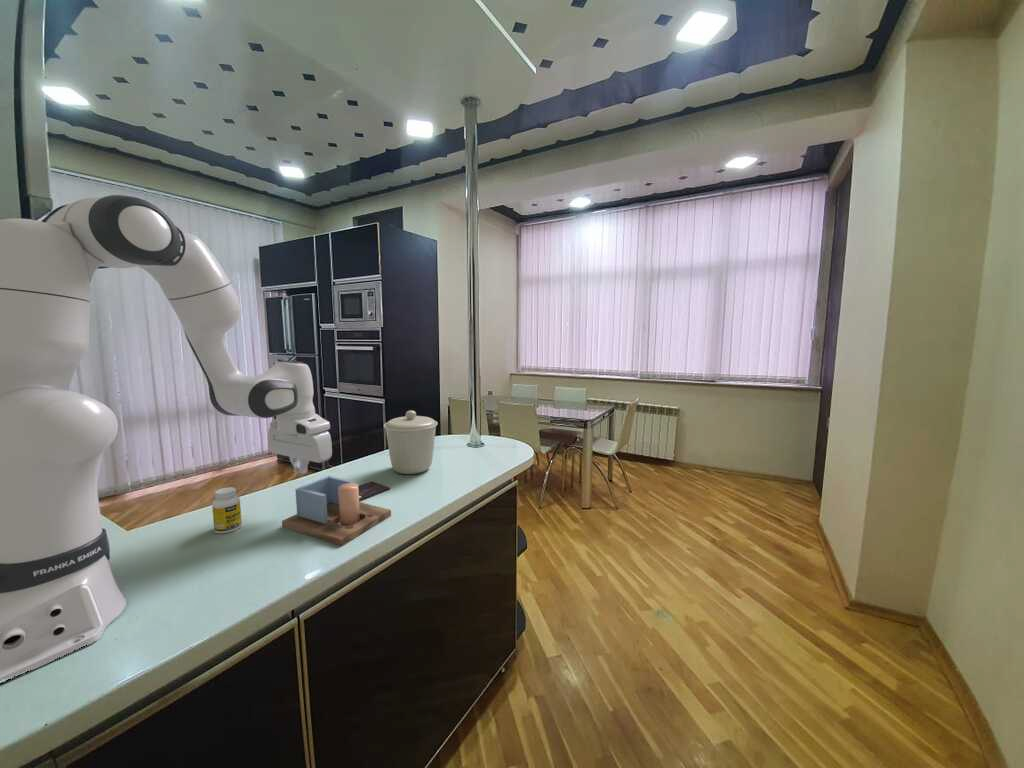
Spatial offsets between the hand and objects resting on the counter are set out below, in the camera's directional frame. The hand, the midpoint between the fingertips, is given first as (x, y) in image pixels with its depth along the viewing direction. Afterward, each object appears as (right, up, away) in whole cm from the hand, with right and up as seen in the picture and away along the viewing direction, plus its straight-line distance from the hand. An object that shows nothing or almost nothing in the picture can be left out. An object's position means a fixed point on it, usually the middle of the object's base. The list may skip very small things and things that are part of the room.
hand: (300, 472), depth 102 cm
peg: (+16, -12, -6) cm, 20 cm away
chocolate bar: (+10, -10, +11) cm, 18 cm away
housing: (+9, -9, -3) cm, 13 cm away
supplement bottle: (-13, -12, -9) cm, 19 cm away
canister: (+21, -7, +33) cm, 40 cm away
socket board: (+12, -11, -4) cm, 17 cm away
